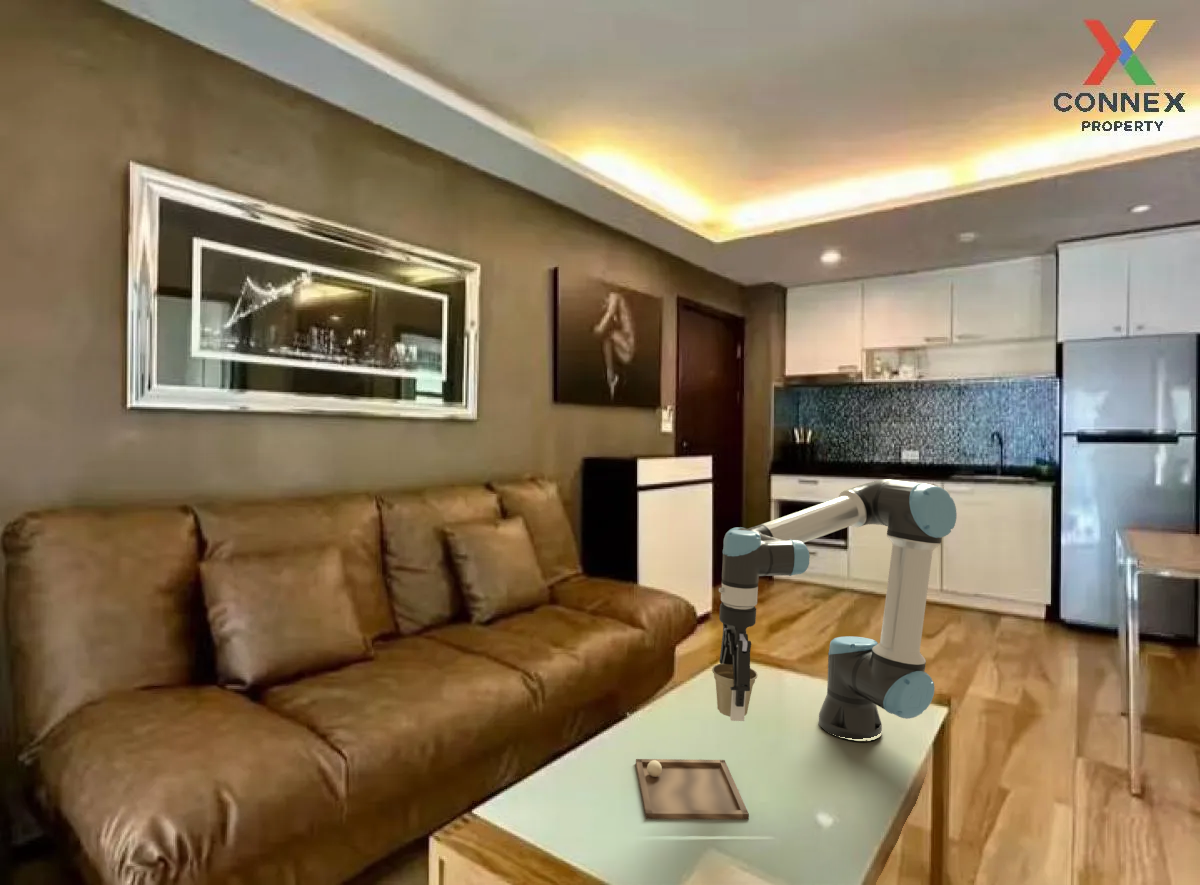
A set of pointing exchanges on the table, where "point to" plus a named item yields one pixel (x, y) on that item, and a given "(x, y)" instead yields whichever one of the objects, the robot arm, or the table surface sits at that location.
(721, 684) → the flower pot
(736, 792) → the tray
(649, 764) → the cream white ball
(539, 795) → the table surface
